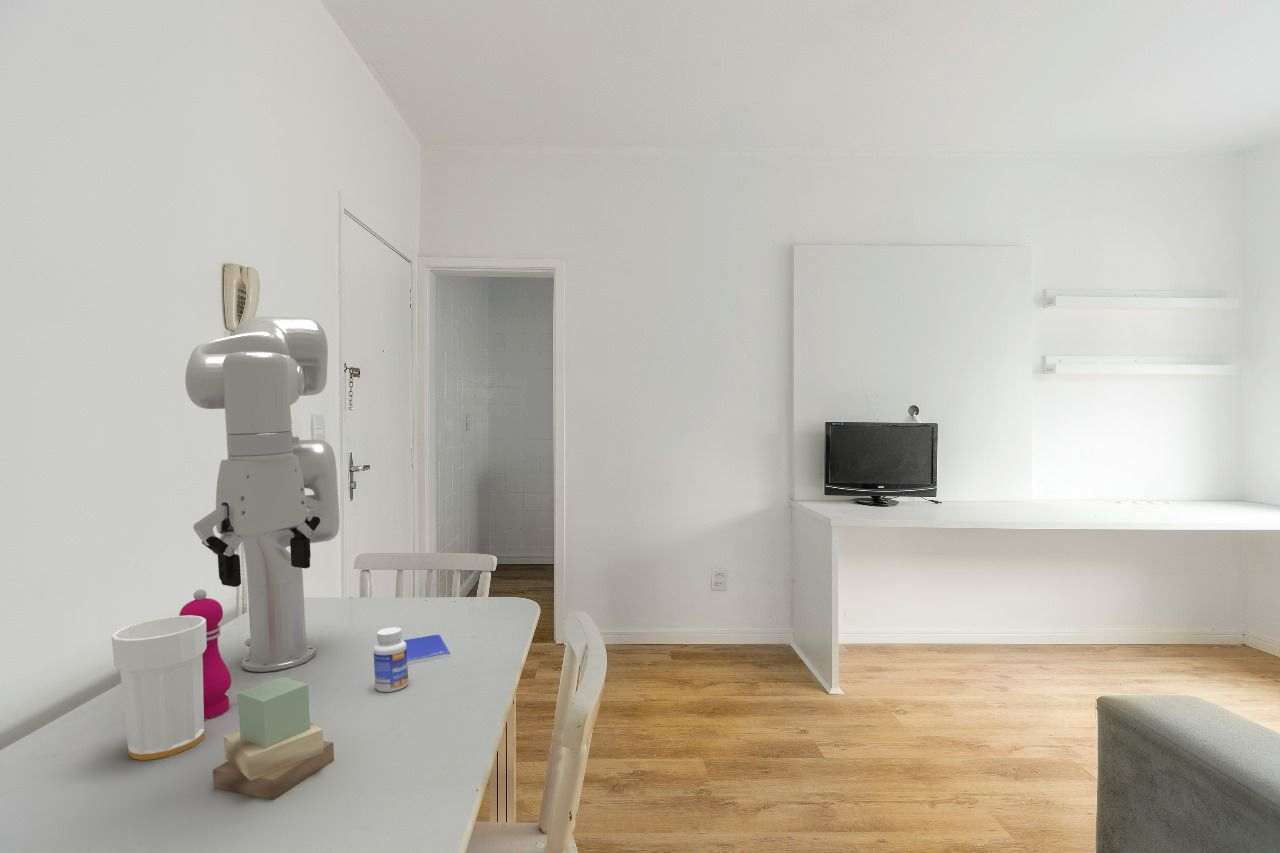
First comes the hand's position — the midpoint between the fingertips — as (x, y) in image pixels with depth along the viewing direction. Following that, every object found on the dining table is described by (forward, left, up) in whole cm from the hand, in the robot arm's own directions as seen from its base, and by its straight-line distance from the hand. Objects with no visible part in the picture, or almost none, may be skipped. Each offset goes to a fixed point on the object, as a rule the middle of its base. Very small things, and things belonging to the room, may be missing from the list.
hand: (267, 575), depth 92 cm
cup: (-23, -2, -27) cm, 35 cm away
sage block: (+1, -1, -21) cm, 21 cm away
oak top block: (0, -1, -24) cm, 24 cm away
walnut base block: (0, -1, -27) cm, 27 cm away
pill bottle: (-9, +27, -27) cm, 39 cm away
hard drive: (-17, +42, -27) cm, 53 cm away
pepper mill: (-29, +7, -27) cm, 39 cm away
